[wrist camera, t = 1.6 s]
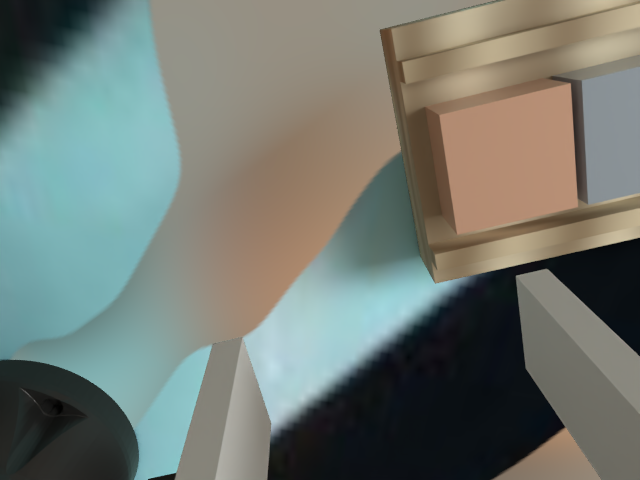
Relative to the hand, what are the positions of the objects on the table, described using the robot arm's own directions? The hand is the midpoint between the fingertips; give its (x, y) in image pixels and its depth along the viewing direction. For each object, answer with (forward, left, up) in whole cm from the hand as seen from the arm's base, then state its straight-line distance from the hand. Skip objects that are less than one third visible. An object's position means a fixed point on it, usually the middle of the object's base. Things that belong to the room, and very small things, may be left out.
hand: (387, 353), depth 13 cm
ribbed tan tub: (+11, 0, -20) cm, 23 cm away
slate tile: (+15, 0, -16) cm, 22 cm away
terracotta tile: (+8, 0, -16) cm, 18 cm away
